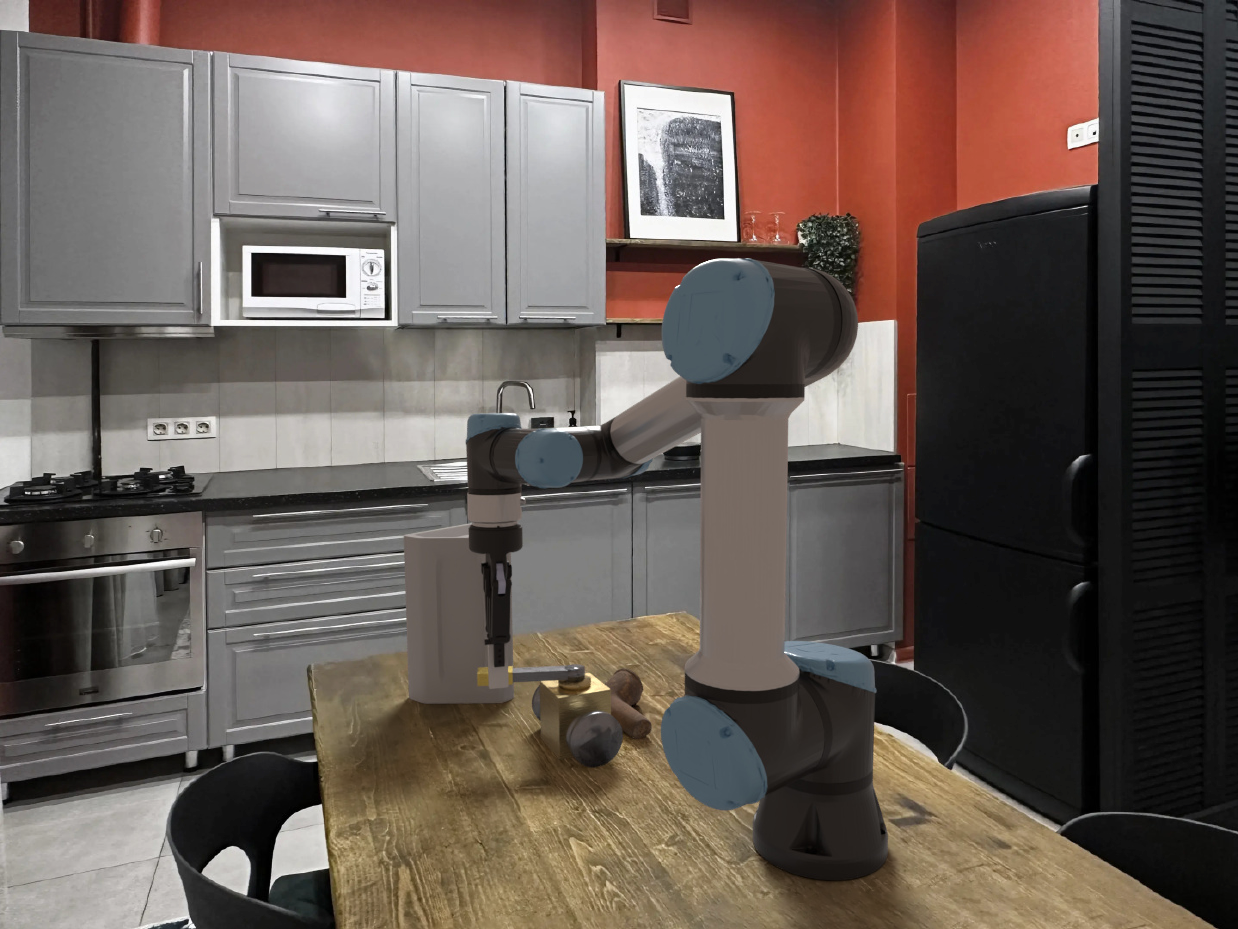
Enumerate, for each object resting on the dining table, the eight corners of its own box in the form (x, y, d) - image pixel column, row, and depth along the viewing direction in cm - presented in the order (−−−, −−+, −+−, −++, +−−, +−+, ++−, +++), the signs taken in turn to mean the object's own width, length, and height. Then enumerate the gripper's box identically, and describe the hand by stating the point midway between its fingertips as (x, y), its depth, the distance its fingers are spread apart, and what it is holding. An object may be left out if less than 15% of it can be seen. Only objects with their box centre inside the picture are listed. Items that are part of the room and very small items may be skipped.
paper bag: (465, 718, 138) (460, 545, 136) (406, 697, 147) (401, 535, 145) (547, 684, 153) (544, 528, 150) (489, 668, 162) (485, 520, 160)
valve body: (624, 761, 122) (623, 694, 121) (571, 772, 118) (570, 703, 118) (579, 719, 137) (578, 659, 136) (531, 728, 134) (529, 666, 133)
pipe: (629, 714, 127) (682, 690, 132) (571, 682, 141) (622, 661, 146) (635, 754, 128) (687, 728, 134) (577, 718, 142) (627, 696, 147)
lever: (584, 674, 128) (583, 662, 128) (585, 681, 126) (585, 669, 125) (478, 679, 127) (478, 667, 127) (477, 686, 124) (477, 674, 124)
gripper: (529, 528, 116) (531, 699, 118) (515, 515, 129) (518, 671, 131) (472, 530, 115) (476, 704, 116) (464, 518, 127) (467, 675, 129)
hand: (498, 686), depth 123 cm, fingers closed
